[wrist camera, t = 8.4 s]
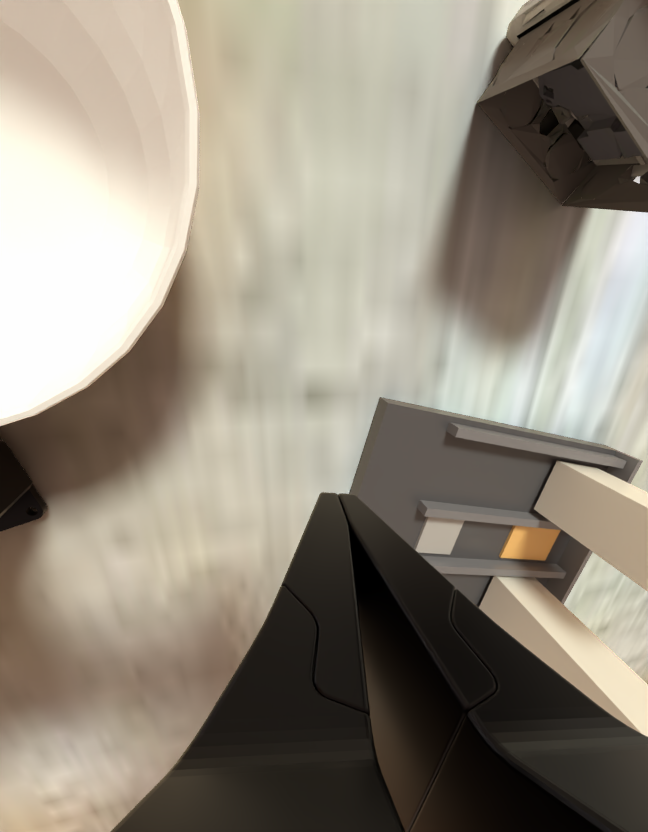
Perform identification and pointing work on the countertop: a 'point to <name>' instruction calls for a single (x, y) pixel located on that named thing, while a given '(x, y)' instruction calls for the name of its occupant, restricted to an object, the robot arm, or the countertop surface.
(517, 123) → the electrical switch
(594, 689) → the cream tall block
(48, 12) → the bowl
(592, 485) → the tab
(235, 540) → the countertop surface
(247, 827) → the robot arm
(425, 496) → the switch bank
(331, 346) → the countertop surface
